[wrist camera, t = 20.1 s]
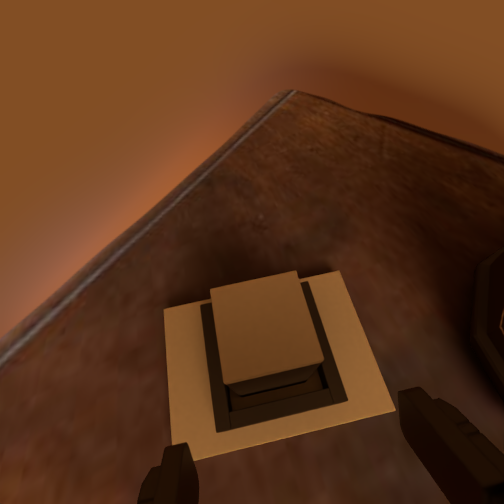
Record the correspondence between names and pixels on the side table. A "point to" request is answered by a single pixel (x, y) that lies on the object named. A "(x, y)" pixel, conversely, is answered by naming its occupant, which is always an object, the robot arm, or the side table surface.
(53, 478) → the side table surface
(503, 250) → the barrel
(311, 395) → the base pad
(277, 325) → the tan rectangular block
